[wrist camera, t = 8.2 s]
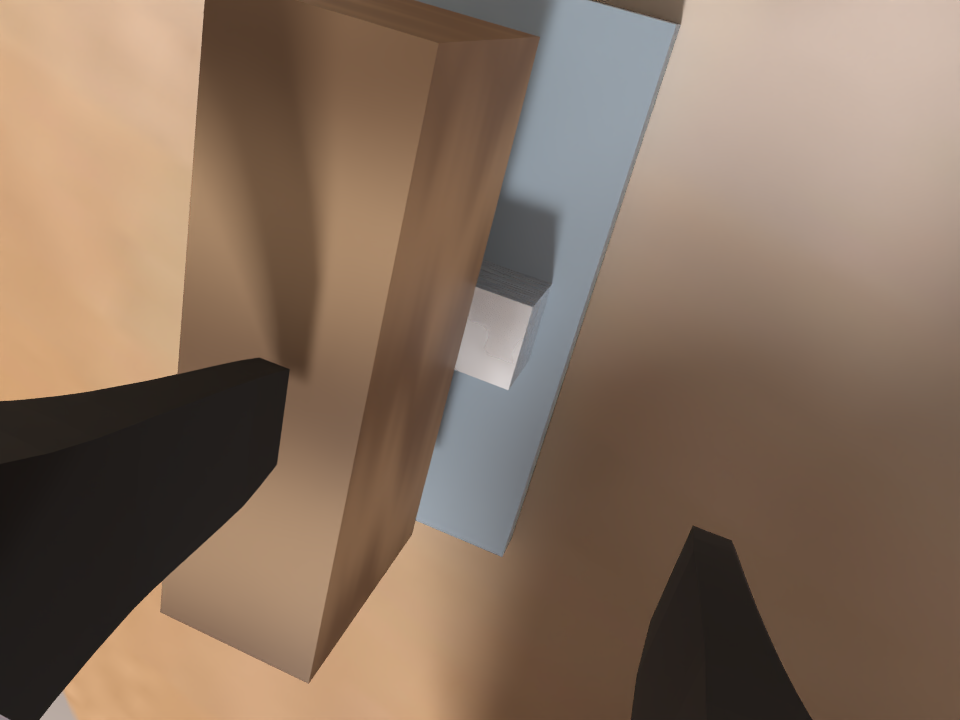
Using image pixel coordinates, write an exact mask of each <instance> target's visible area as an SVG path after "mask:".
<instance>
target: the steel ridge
mask: <svg viewBox="0 0 960 720" xmlns="http://www.w3.org/2000/svg"><path fill="white" fill-rule="evenodd" d="M551 286H552V283H549V282H546V281H543V280H540V279H537V278H535V277H532V276H529V275H526V274H523V273H520V272H517V271H515V270H512V269H509V268H506V267H503V266H500V265H497V264H494V263H492V262H489V261H486V260H483V261H482V265H481V268H480V272H479V276H478V280H477V284H476V288H475V292H474V296H473V299H472V303H471V307H470V311H469V315H468V319H467V323H466V327H465V330H464V334H463V338H462V342H461V346H460V350H459V354H458V358H457V361H456V365H455V369H454V370H457V371H459V372H462V373H464V374H467V375H470V376H472V377H475V378H478V379H480V380H483V381H486V382H488V383H491V384H493V385H496V386H499V387H501V388H504V389H507V390H509V389H510V387H511V386H512V384H513V383H514V381H515V380H516V379H517V377H518V376H519V374H520V373H521V372H522V370H523V369H524V367H525V366H526V364H527V363H528V362H529V359H530V355H531V352H532V349H533V345H534V342H535V339H536V335H537V332H538V329H539V326H540V322H541V319H542V316H543V312H544V309H545V306H546V302H547V299H548V296H549V292H550V289H551Z"/></svg>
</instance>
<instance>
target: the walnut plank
mask: <svg viewBox="0 0 960 720" xmlns="http://www.w3.org/2000/svg"><path fill="white" fill-rule="evenodd" d="M539 40H540V37H539V36H535V35H532V34H528V33H525V32H522V31H518V30H515V29H511V28H508V27H504V26H501V25H498V24H494V23H491V22H487V21H484V20H481V19H477V18H474V17H470V16H467V15H463V14H460V13H457V12H453V11H450V10H446V9H443V8H439V7H436V6H433V5H429V4H426V3H422V2H419V1H415V0H205V5H204V19H203V33H202V46H201V60H200V74H199V88H198V101H197V115H196V129H195V143H194V156H193V170H192V184H191V197H190V211H189V225H188V239H187V252H186V266H185V280H184V294H183V307H182V321H181V335H180V348H179V362H178V374H181V373H185V372H189V371H194V370H198V369H203V368H207V367H211V366H216V365H220V364H225V363H230V362H235V361H240V360H245V359H252V358H262V359H265V360H267V361H270V362H273V363H275V364H278V365H280V366H283V367H285V368H288V369H290V372H289V380H288V387H287V395H286V402H285V410H284V417H283V424H282V432H281V439H280V447H279V454H278V461H277V465H276V467H275V468H274V469H273V471H272V472H271V473H270V474H269V476H268V477H267V478H266V479H265V481H264V482H263V483H262V484H261V486H260V487H259V488H258V489H257V491H256V492H255V493H254V494H253V495H252V497H251V498H250V499H249V500H248V501H247V502H246V504H245V505H244V506H243V507H242V508H241V509H240V510H239V511H238V512H237V513H236V514H235V515H234V516H233V517H231V518H230V519H229V520H228V521H227V522H226V523H225V524H224V525H223V526H222V527H221V528H220V529H219V530H217V531H216V532H215V533H214V534H213V535H212V536H211V537H210V538H209V539H208V540H207V541H206V542H204V543H203V544H202V545H201V546H200V547H199V548H198V549H197V550H196V551H195V552H193V553H192V554H191V555H190V556H189V557H188V558H187V559H186V560H185V561H184V562H182V563H181V564H180V565H179V566H178V567H177V568H176V569H175V570H174V571H173V572H171V573H170V574H169V575H168V576H167V577H166V578H165V579H164V580H163V582H162V595H161V609H160V612H161V613H163V614H165V615H167V616H169V617H171V618H173V619H176V620H178V621H180V622H182V623H184V624H186V625H188V626H190V627H192V628H194V629H196V630H198V631H200V632H202V633H205V634H207V635H209V636H211V637H213V638H215V639H217V640H219V641H221V642H223V643H225V644H227V645H229V646H232V647H234V648H236V649H238V650H240V651H242V652H244V653H246V654H248V655H250V656H252V657H254V658H256V659H258V660H261V661H263V662H265V663H267V664H269V665H271V666H273V667H275V668H277V669H279V670H281V671H283V672H285V673H288V674H290V675H292V676H294V677H296V678H298V679H300V680H302V681H304V682H306V683H308V684H309V682H310V681H311V680H312V678H313V677H314V675H315V674H316V672H317V671H318V669H319V668H320V667H321V665H322V664H323V662H324V661H325V659H326V658H327V656H328V655H329V654H330V652H331V651H332V649H333V648H334V646H335V645H336V643H337V642H338V641H339V639H340V638H341V636H342V635H343V633H344V632H345V630H346V629H347V628H348V626H349V625H350V623H351V622H352V620H353V619H354V617H355V616H356V615H357V613H358V612H359V610H360V609H361V607H362V606H363V604H364V603H365V602H366V600H367V599H368V597H369V596H370V594H371V593H372V591H373V590H374V589H375V587H376V586H377V584H378V583H379V581H380V580H381V578H382V577H383V576H384V574H385V573H386V571H387V570H388V568H389V567H390V565H391V564H392V563H393V561H394V560H395V558H396V557H397V555H398V554H399V552H400V551H401V550H402V548H403V547H404V545H405V544H406V542H407V541H408V539H409V538H410V537H411V535H412V532H413V528H414V524H415V520H416V517H417V513H418V509H419V505H420V501H421V497H422V493H423V489H424V485H425V482H426V478H427V474H428V470H429V466H430V462H431V458H432V454H433V451H434V447H435V443H436V439H437V435H438V431H439V427H440V423H441V420H442V416H443V412H444V408H445V404H446V400H447V396H448V392H449V389H450V385H451V381H452V377H453V373H454V369H455V365H456V361H457V358H458V354H459V350H460V346H461V342H462V338H463V334H464V330H465V327H466V323H467V319H468V315H469V311H470V307H471V303H472V299H473V296H474V292H475V288H476V284H477V280H478V276H479V272H480V268H481V265H482V261H483V257H484V253H485V249H486V245H487V241H488V237H489V234H490V230H491V226H492V222H493V218H494V214H495V210H496V206H497V203H498V199H499V195H500V191H501V187H502V183H503V179H504V175H505V172H506V168H507V164H508V160H509V156H510V152H511V148H512V144H513V140H514V137H515V133H516V129H517V125H518V121H519V117H520V113H521V109H522V106H523V102H524V98H525V94H526V90H527V86H528V82H529V78H530V75H531V71H532V67H533V63H534V59H535V55H536V51H537V47H538V44H539Z"/></svg>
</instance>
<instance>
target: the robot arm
mask: <svg viewBox="0 0 960 720" xmlns="http://www.w3.org/2000/svg"><path fill="white" fill-rule="evenodd" d="M289 372H290V369H288V368H285V367H283V366H280V365H278V364H275V363H273V362H270V361H267V360H265V359H262V358H252V359H245V360H240V361H235V362H230V363H225V364H220V365H216V366H211V367H207V368H203V369H198V370H194V371H189V372H185V373H181V374H176V375H172V376H167V377H163V378H158V379H154V380H149V381H144V382H139V383H133V384H128V385H123V386H117V387H112V388H107V389H101V390H96V391H90V392H84V393H77V394H70V395H62V396H54V397H45V398H35V399H26V400H14V401H0V720H40V718H41V717H42V716H43V714H44V713H45V712H46V711H47V709H48V708H49V707H50V706H51V704H52V703H53V702H54V701H55V699H56V698H57V697H58V696H59V695H60V693H61V692H62V691H63V690H64V689H65V687H66V686H67V685H68V684H69V683H70V681H71V680H72V679H73V678H74V677H75V675H76V674H77V673H78V672H79V671H80V669H81V668H82V667H83V666H84V665H85V664H86V662H87V661H88V660H89V659H90V658H91V656H92V655H93V654H94V653H95V652H96V651H97V649H98V648H99V647H100V646H101V645H102V644H103V643H104V641H105V640H106V639H107V638H108V637H109V636H110V635H111V634H112V632H113V631H114V630H115V629H116V628H117V627H118V626H119V625H120V623H121V622H122V621H123V620H124V619H125V618H126V617H127V616H128V614H129V613H130V612H131V611H132V610H133V609H134V608H135V607H136V606H137V605H138V604H139V603H140V602H141V601H142V600H143V599H144V598H145V597H146V596H147V595H148V594H149V593H150V592H151V591H152V590H153V589H154V588H155V587H156V586H157V585H158V584H159V583H161V582H162V581H163V580H164V579H165V578H166V577H167V576H168V575H169V574H170V573H171V572H173V571H174V570H175V569H176V568H177V567H178V566H179V565H180V564H181V563H182V562H184V561H185V560H186V559H187V558H188V557H189V556H190V555H191V554H192V553H193V552H195V551H196V550H197V549H198V548H199V547H200V546H201V545H202V544H203V543H204V542H206V541H207V540H208V539H209V538H210V537H211V536H212V535H213V534H214V533H215V532H216V531H217V530H219V529H220V528H221V527H222V526H223V525H224V524H225V523H226V522H227V521H228V520H229V519H230V518H231V517H233V516H234V515H235V514H236V513H237V512H238V511H239V510H240V509H241V508H242V507H243V506H244V505H245V504H246V502H247V501H248V500H249V499H250V498H251V497H252V495H253V494H254V493H255V492H256V491H257V489H258V488H259V487H260V486H261V484H262V483H263V482H264V481H265V479H266V478H267V477H268V476H269V474H270V473H271V472H272V471H273V469H274V468H275V467H276V465H277V461H278V454H279V447H280V439H281V432H282V424H283V417H284V410H285V402H286V395H287V387H288V380H289ZM631 720H812V718H811V717H810V715H809V714H808V712H807V710H806V708H805V707H804V705H803V703H802V701H801V700H800V698H799V696H798V694H797V693H796V691H795V689H794V687H793V685H792V683H791V681H790V679H789V677H788V675H787V673H786V671H785V669H784V667H783V665H782V663H781V661H780V659H779V657H778V655H777V653H776V651H775V648H774V646H773V644H772V642H771V639H770V637H769V635H768V632H767V630H766V628H765V626H764V623H763V621H762V619H761V616H760V614H759V611H758V609H757V606H756V604H755V601H754V599H753V596H752V594H751V591H750V588H749V586H748V583H747V580H746V578H745V575H744V572H743V569H742V567H741V564H740V561H739V558H738V555H737V552H736V549H735V547H734V545H733V543H732V541H731V540H729V539H726V538H723V537H721V536H718V535H716V534H713V533H711V532H708V531H705V530H703V529H700V528H698V527H695V526H693V527H692V529H691V531H690V534H689V536H688V538H687V540H686V543H685V545H684V547H683V549H682V551H681V554H680V556H679V558H678V560H677V563H676V565H675V567H674V569H673V572H672V574H671V576H670V578H669V581H668V583H667V585H666V587H665V590H664V592H663V594H662V596H661V599H660V601H659V603H658V605H657V608H656V610H655V612H654V614H653V617H652V619H651V622H650V625H649V629H648V633H647V637H646V641H645V645H644V649H643V653H642V657H641V661H640V665H639V669H638V673H637V678H636V685H635V693H634V701H633V709H632V717H631Z"/></svg>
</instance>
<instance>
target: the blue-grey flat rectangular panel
mask: <svg viewBox="0 0 960 720" xmlns="http://www.w3.org/2000/svg"><path fill="white" fill-rule="evenodd" d="M415 1H419V2H422V3H426V4H429V5H433V6H436V7H439V8H443V9H446V10H450V11H453V12H457V13H460V14H463V15H467V16H470V17H474V18H477V19H481V20H484V21H487V22H491V23H494V24H498V25H501V26H504V27H508V28H511V29H515V30H518V31H522V32H525V33H528V34H532V35H535V36H539V37H540V40H539V44H538V47H537V51H536V55H535V59H534V63H533V67H532V71H531V75H530V78H529V82H528V86H527V90H526V94H525V98H524V102H523V106H522V109H521V113H520V117H519V121H518V125H517V129H516V133H515V137H514V140H513V144H512V148H511V152H510V156H509V160H508V164H507V168H506V172H505V175H504V179H503V183H502V187H501V191H500V195H499V199H498V203H497V206H496V210H495V214H494V218H493V222H492V226H491V230H490V234H489V237H488V241H487V245H486V249H485V253H484V257H483V260H486V261H489V262H492V263H494V264H497V265H500V266H503V267H506V268H509V269H512V270H515V271H517V272H520V273H523V274H526V275H529V276H532V277H535V278H537V279H540V280H543V281H546V282H549V283H552V286H551V289H550V292H549V296H548V299H547V302H546V306H545V309H544V312H543V316H542V319H541V322H540V326H539V329H538V332H537V335H536V339H535V342H534V345H533V349H532V352H531V355H530V359H529V362H528V363H527V364H526V366H525V367H524V369H523V370H522V372H521V373H520V374H519V376H518V377H517V379H516V380H515V381H514V383H513V384H512V386H511V387H510V389H509V390H507V389H504V388H501V387H499V386H496V385H493V384H491V383H488V382H486V381H483V380H480V379H478V378H475V377H472V376H470V375H467V374H464V373H462V372H459V371H457V370H454V373H453V377H452V381H451V385H450V389H449V392H448V396H447V400H446V404H445V408H444V412H443V416H442V420H441V423H440V427H439V431H438V435H437V439H436V443H435V447H434V451H433V454H432V458H431V462H430V466H429V470H428V474H427V478H426V482H425V485H424V489H423V493H422V497H421V501H420V505H419V509H418V513H417V517H416V521H418V522H421V523H423V524H425V525H428V526H430V527H432V528H435V529H437V530H440V531H442V532H444V533H447V534H449V535H451V536H454V537H456V538H458V539H461V540H463V541H465V542H468V543H470V544H473V545H475V546H477V547H480V548H482V549H484V550H487V551H489V552H491V553H494V554H496V555H499V556H501V557H503V555H504V553H505V550H506V548H507V546H508V544H509V542H510V540H511V538H512V535H513V532H514V529H515V526H516V523H517V520H518V517H519V514H520V511H521V508H522V505H523V502H524V499H525V496H526V492H527V489H528V486H529V483H530V480H531V477H532V474H533V471H534V468H535V465H536V462H537V459H538V456H539V453H540V450H541V447H542V444H543V441H544V438H545V435H546V432H547V429H548V426H549V423H550V420H551V417H552V414H553V411H554V407H555V404H556V401H557V398H558V395H559V392H560V389H561V386H562V383H563V380H564V377H565V374H566V371H567V368H568V365H569V362H570V359H571V356H572V353H573V350H574V347H575V344H576V341H577V338H578V335H579V332H580V329H581V326H582V322H583V319H584V316H585V313H586V310H587V307H588V304H589V301H590V298H591V295H592V292H593V289H594V286H595V283H596V280H597V277H598V274H599V271H600V268H601V265H602V262H603V259H604V256H605V253H606V250H607V247H608V244H609V241H610V238H611V234H612V231H613V228H614V225H615V222H616V219H617V216H618V213H619V210H620V207H621V204H622V201H623V198H624V195H625V192H626V189H627V186H628V183H629V180H630V177H631V174H632V171H633V168H634V165H635V162H636V159H637V156H638V153H639V149H640V146H641V143H642V140H643V137H644V134H645V131H646V128H647V125H648V122H649V119H650V116H651V113H652V110H653V107H654V104H655V101H656V98H657V95H658V92H659V89H660V86H661V83H662V80H663V77H664V74H665V71H666V68H667V64H668V61H669V58H670V55H671V52H672V49H673V46H674V43H675V40H676V37H677V34H678V31H679V28H680V24H676V23H673V22H669V21H666V20H662V19H658V18H655V17H651V16H647V15H644V14H640V13H637V12H633V11H629V10H626V9H622V8H618V7H615V6H611V5H607V4H604V3H600V2H597V1H593V0H415Z"/></svg>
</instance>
